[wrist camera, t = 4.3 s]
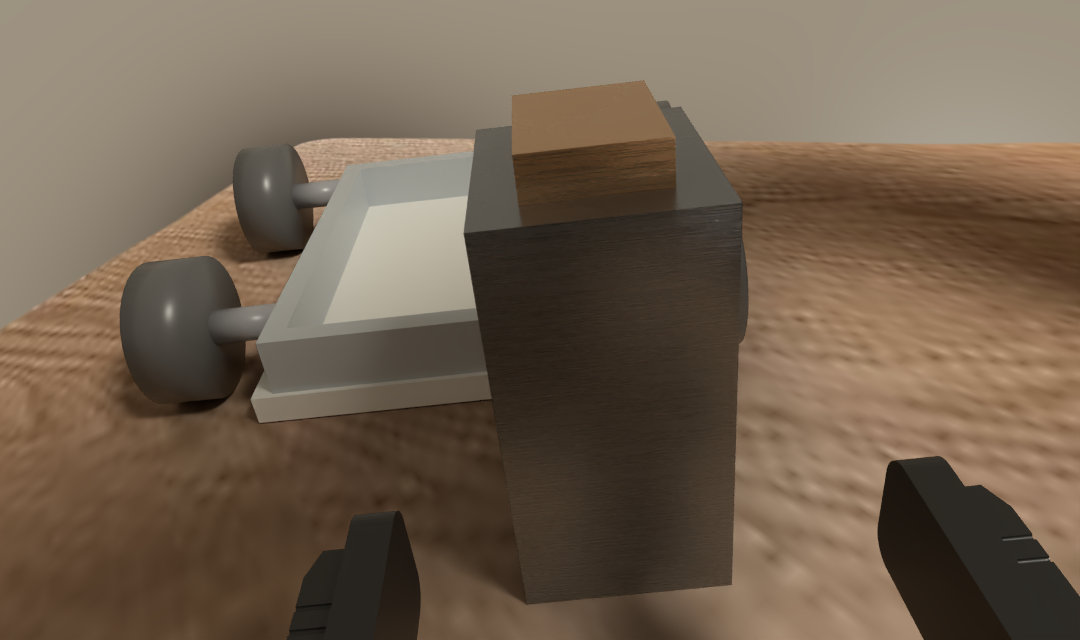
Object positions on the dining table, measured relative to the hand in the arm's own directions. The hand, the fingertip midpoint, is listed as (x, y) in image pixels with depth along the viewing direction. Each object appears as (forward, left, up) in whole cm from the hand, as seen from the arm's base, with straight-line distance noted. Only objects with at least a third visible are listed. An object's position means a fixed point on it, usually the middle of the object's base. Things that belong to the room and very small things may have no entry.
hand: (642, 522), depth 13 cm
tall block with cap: (0, -7, -6) cm, 9 cm away
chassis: (+5, -21, -6) cm, 22 cm away
